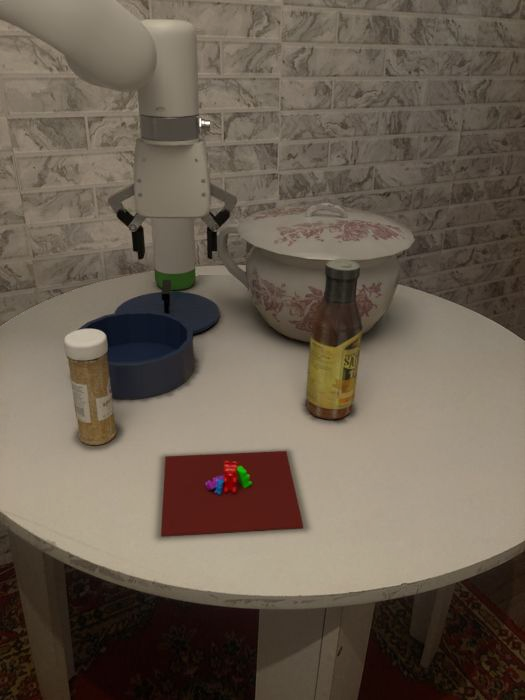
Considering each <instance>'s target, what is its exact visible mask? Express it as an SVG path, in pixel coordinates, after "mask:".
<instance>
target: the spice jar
mask: <svg viewBox="0 0 525 700" xmlns="http://www.w3.org/2000/svg"><path fill="white" fill-rule="evenodd" d="M63 344H64V351H65V355H66V358H67V360H68V361H67V362H68V367H69V374H70V377H69V378H70V386H71V391H72V399H73V405H74V412H75V416H76V420H77V426H78V427H77V428H78V432H77V433H78V439H79V440H80V441H81V443H83V444H86V445H90V446H99V445H104V444H107V443H108V442H110V441H111V440H113V439H114V438H115V436H116V434H117V432H118V431H117V426H116V422H115V415H114V411H115V410H114V400H113V398H112V391H111V383H110V376H109V369H108V361H107V350H108V345H107V337H106V334H105V333H104V332H102V331H100V330H97V329H80V330H78V329H76V330H74V331H71V332H69V333H68V334H67V335H66V336H65V337H64V340H63Z"/></svg>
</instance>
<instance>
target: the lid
mask: <svg viewBox="0 0 525 700" xmlns="http://www.w3.org/2000/svg"><path fill="white" fill-rule="evenodd" d="M126 311H153V312H159V313H166V314H170V315H172V316H175V317H177V318H179V319H182V320H184V321H185V322H186V323H187V324H188V325H189V326H190V327H191V328H192V330H193V335H195V334H198V333H200V332H203V331H205V330H207V329H210V328H211V327H212V326H213V325H215V324H216V323H217V321H218V320H219V318H220V308H219V307H218V305H217V304H216V302H214V301H213V300H212V299H210V298H208V297H206V296H203V295H200V294H196V293H191V292H184V291H172V290H171V280H163V286H162V288H161V291H158V292H151V293H146V294H141V295H138V296H135V297H132V298H130V299H127V300H125V301H124V302H122V303H121V304H120V305H118V307H116V309H115V310H114V314H115V313H121V312H126Z"/></svg>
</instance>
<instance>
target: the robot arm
mask: <svg viewBox="0 0 525 700" xmlns="http://www.w3.org/2000/svg"><path fill="white" fill-rule="evenodd" d="M0 21H3V22H5V23H7V24H10V25H12V26H14V27H16V28H18V29H20V30H22V31H24V32H25V33H28V34H30V35H32V36H33V37H35V38H37V39H38V40H40V41H42V42H43V43H45V44H47V45H48V46H50V47H52V48H53V49H55V50H56V51H58V52H59V53H61V54H62V55H63V56H64V59H65V61H66V64H67V66H68V67H69V69H70V71H72V72H73V74H74V75H75V76H76V77H77V78H78V79H80V80H82V81H84V82H85V83H87V84H90V85H93V86H96V87H99V88H104V89H108V90H112V91H115V92H120V93H131V92H135V91H137V103H138V113H139V114H138V119H139V131H140V137H138V138H136V139H135V145H134V157H133V183H131V184H130V185H128V186H125V187H124V188H122V189H120V190H118V191H116V192H114V193H112V194H110V196H108V198H107V203H108V205H109V207H110V208H111V209H112V211H113V212H114V214H115V215H116V218H117V219H118V220H119V221H120V222H121V223H122V224H124V225H125V226H126V227H127V228H128V231H130V232H131V242H132V251H133V253H137V260H138V261H139V260H143V259H144V258H145V255H146V244H145V243H146V242H145V231H144V226H143V225H142V224H143V223H144V221H145V220H146V219H151V218H194V219H201V220H202V222H203V223H204V224H205V225H206V251H207V252H206V254H207V255H206V257H207V259H208V260H213V252H217V236H218V231H220V229H221V228H222V227H223V226H224V225H225V224H226V223H227V222H228V220H229V219H230V218H231V215H232V213H233V211H234V209H235V207H236V206H237V204H238V198H237V196H236V195H234V194H232V193H230V192H229V191H226V190H224V189H222V188H220V187H219V186H218V185H215V184H213V183H211V173H210V160H209V159H210V158H209V153H208V147H207V143H206V139H205V138H202V137H200V135H202V133H205V132H211V120H210V119H205V118H202V117H201V116H200V110H199V109H200V107H199V106H200V105H199V70H198V69H199V67H198V65H199V64H198V63H199V62H198V38H197V37H198V35H197V31H196V28H195V26H194V25H193V24H192V23H191V22H189V21H187V20H182V19H171V18H170V19H169V18H168V19H167V18H165V19H164V18H163V19H162V18H146V19H142V20H140V19H139V18H138V17H137V16H135V15H134V14H133V13H132V12H130V10H128V9H127V8H126V7H125V6H124V5H122V4H121V3H119V2H118V1H117V0H0ZM132 197H134V206H135V214H134V215H133V214H132V213H131V212H129V211H128V210H127V209H126V208H125V207H124V204H123V203H122V202H124V201H126V200H128V199H130V198H132ZM212 197H214V198H215V199H217V200H219V201H221V202H223V203H224V204H223V206H222V209H220V211H219V212H218V213H217V214H216V215H215V214H214V213H213V212H212V210H211V204H212Z"/></svg>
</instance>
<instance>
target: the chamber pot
mask: <svg viewBox="0 0 525 700" xmlns="http://www.w3.org/2000/svg"><path fill="white" fill-rule="evenodd" d="M231 234H238V235H239V237H240V239H242V240H243V241H245V242H246V245H245V253H246V256H245V270H244V269H242V268H241V267H240V266H239V265H238V264H237V263H236V261H235V260H234V258H233V257H232V256H231V254H230V252H229V248H228V239H229V235H231ZM415 241H416V239H415V237H414V233H413V231H412V229H410V228H409V227H408V226H406V225H405V224H403V223H402V222H400V221H399V220H396V219H394V218H391V217H388V216H385V215H383V214H380V213H377V212H372V211H369V210H364V209H360V208H355V207H348V206H341V205H337V204H335V203H330V202H321V203H316V204H295V205H287V206H277V207H274V208H269V209H265V210H261V211H256V212H254V213H251V214H250V215H248V216H246V217H244V218H242V219H241V220H240V221H239V219H235V218H232V219H231V220H230V221H226V222H225V223H224V224H223V225H222V226H221V227H220V229H219V232H218V233H217V251H216V252H217V256H218V259H219V260H220V262H221V263H222V265H223V266H224V267H225V269H226V270H227V271H228V272H229V274H231V275H232V276H233V277H234V278H235V279H236V280H238V282H240V283H241V285H243V286H244V287H245V289H246V290H247V291H248V292H249V296H250V297H251V300H252V302H253V304H254V305H255V307H256V309H257V311H258V312H259V314H260V315H261V317H262V319H263V320H264V321H265V323H266V324H267V325H268V326H269V327H270V328H272V329H273V330H274V331H275V332H276V333H278V334H281V336H282V335H283V336H285V337H287V338H289V339H293V340H296V341H301V342H305V343H310V339H311V333H312V327H313V317H314V313H315V311H316V309H317V307H318V306H319V305H320V304H321V303H322V301H323V300H324V299H325V298H324V292H325V285H326V275H325V266H326V263H327V262H328V261H331V260H339V259H342V260H350V261H353V262H356V263H357V264H359V265H360V275H359V278H358V279H357V287H356V304H357V308H358V312H359V316H360V320H361V323H362V327H363V328H362V335H364V334H367V332H369V331H370V330H371V329H372V328H373V327H374V326H375V325H376V323H377V322H378V321H379V320H380V319H381V318H382V317H383V315H384V314H385V313H386V311H387V310H388V309H389V307H390V306H391V304H392V302H393V299H394V296H395V293H396V291H397V288H398V285H399V282H400V274H401V265H400V260H399V257H398V255H397V254H399V253H402V252H404V251H407V250H408V249H410V247H411V246H412V244H414V242H415Z"/></svg>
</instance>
